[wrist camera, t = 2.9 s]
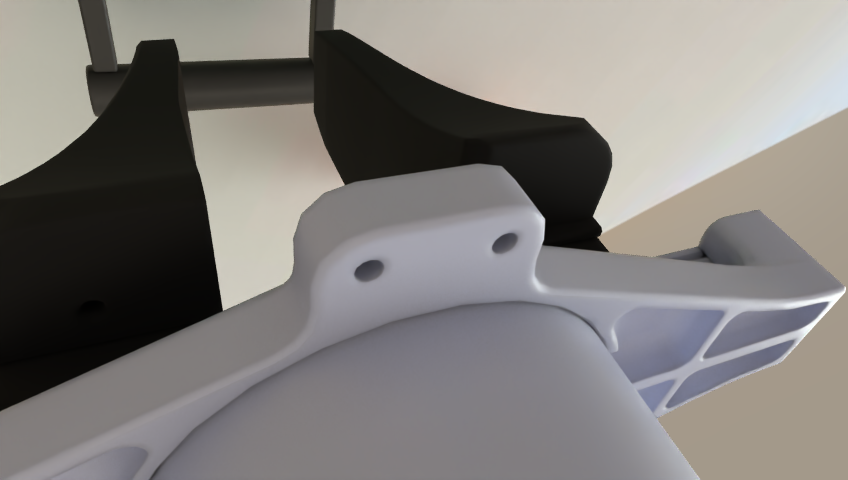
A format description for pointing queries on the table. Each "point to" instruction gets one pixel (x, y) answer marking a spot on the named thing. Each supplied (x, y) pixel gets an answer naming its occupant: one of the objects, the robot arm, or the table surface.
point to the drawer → (208, 69)
